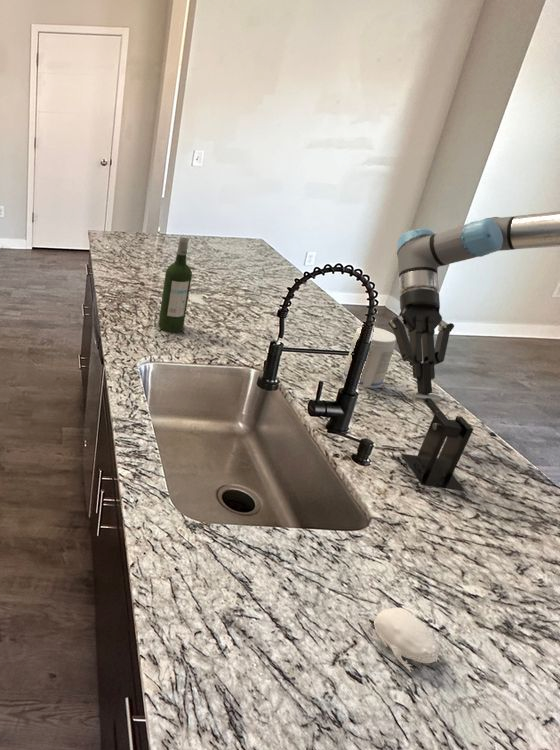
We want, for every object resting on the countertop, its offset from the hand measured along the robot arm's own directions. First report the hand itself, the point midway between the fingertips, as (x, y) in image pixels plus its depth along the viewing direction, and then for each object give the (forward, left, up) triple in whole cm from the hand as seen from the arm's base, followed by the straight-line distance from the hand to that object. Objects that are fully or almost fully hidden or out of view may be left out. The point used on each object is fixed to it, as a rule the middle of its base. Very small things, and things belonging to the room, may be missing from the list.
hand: (424, 393), depth 117 cm
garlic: (+3, +57, -13) cm, 59 cm away
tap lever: (-2, +6, -2) cm, 7 cm away
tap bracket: (-4, +11, -13) cm, 18 cm away
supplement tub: (+9, -25, -13) cm, 29 cm away
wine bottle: (+64, -31, -13) cm, 72 cm away
